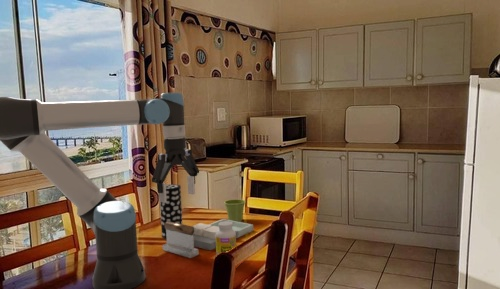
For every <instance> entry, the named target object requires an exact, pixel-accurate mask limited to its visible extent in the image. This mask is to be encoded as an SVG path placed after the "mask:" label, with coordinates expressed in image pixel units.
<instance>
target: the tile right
mask: <svg viewBox="0 0 500 289" xmlns="http://www.w3.org/2000/svg"><path fill="white" fill-rule="evenodd" d="M218 230H219V227H217V226H212V227H209V228H207V229H204V230H203V236H204V237H208V238H212V239H216V232H217V231H218Z"/></svg>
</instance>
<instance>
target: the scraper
mask: <svg viewBox="0 0 500 289" xmlns="http://www.w3.org/2000/svg"><path fill="white" fill-rule="evenodd" d="M193 226H194V225H189V224H188V225H187V224H184V223H182V224H179V223H175V222H170V221H167V222H166V223H165V225H164V227H165V229H166V238H167V239H166V243H165V244H162V251H165V252H168V253H172V254H175V255H178V256H182V257H184V258H188V259H191V258H194V257H196V256H199V248H197V247H195V246H194V238H193V235H192V234H193V233H194V227H193Z"/></svg>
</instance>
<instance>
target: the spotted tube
mask: <svg viewBox="0 0 500 289" xmlns="http://www.w3.org/2000/svg"><path fill="white" fill-rule="evenodd" d="M181 187H182V186H181V185H180V184H166V200H167V202H166V203H163V202H160V201H159V206H160V207H159V208H160V224H161V238H162V239H164V240H167V238H166V229H165V227H164V225H165V223H166V222H167V221H170V222H175V223H179V224H183V210H182V205H183V204H182V191H181V190H182V188H181Z"/></svg>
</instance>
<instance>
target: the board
mask: <svg viewBox="0 0 500 289" xmlns="http://www.w3.org/2000/svg"><path fill="white" fill-rule="evenodd" d="M235 232H236V239H238V238H239V237H238V231H235ZM192 235H193V238H194V248H198V249H199V248H200V249H203V250H207V251H212V250H215V249H216V239H212V238H208V237H204V236H199V235H195V234H192Z"/></svg>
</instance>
